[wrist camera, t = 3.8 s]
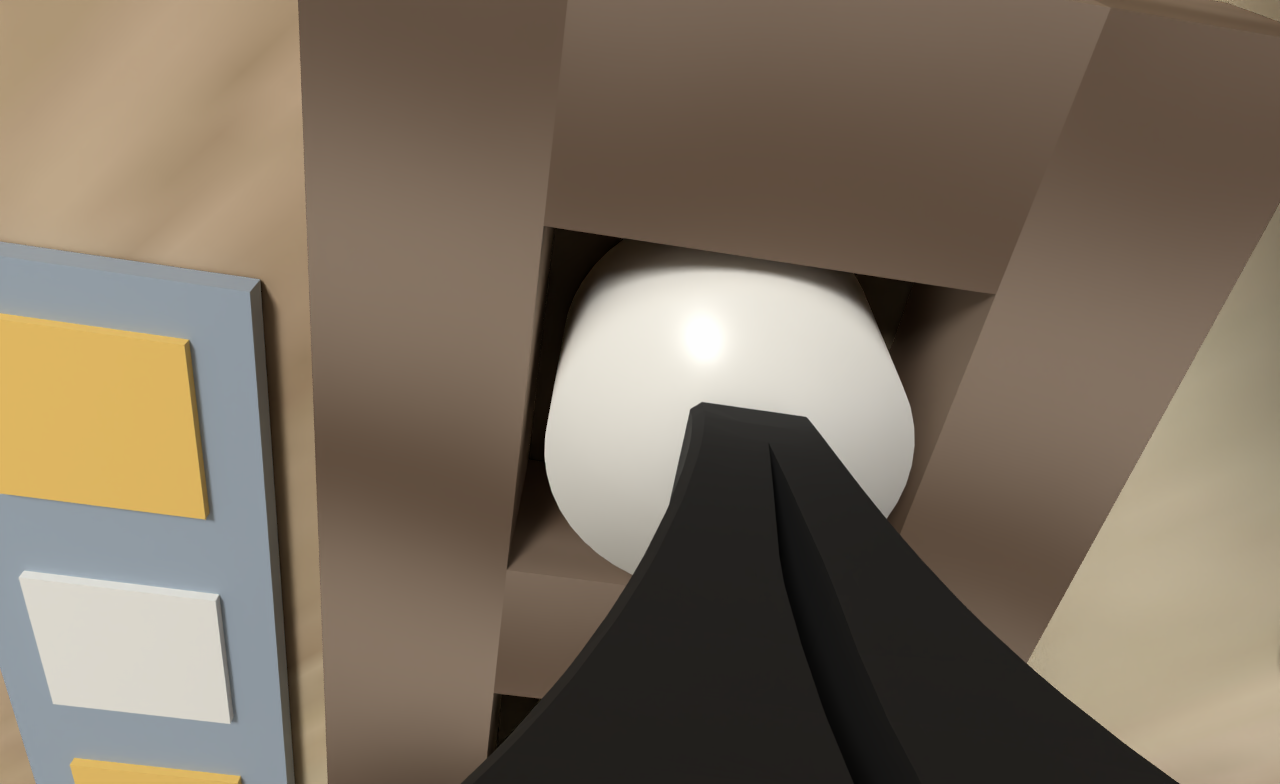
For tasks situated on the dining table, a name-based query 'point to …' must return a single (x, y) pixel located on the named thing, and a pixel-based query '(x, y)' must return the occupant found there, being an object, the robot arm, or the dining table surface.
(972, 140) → the button board
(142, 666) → the pattern card
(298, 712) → the dining table surface
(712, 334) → the button
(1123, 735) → the dining table surface
